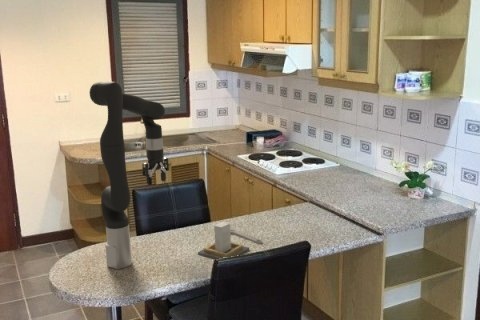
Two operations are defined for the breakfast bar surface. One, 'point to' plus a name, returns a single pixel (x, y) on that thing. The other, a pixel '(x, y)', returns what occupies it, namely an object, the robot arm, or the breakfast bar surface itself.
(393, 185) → the breakfast bar surface
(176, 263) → the breakfast bar surface
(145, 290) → the breakfast bar surface
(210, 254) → the picture frame
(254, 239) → the adjustable wrench
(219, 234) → the skincare box
